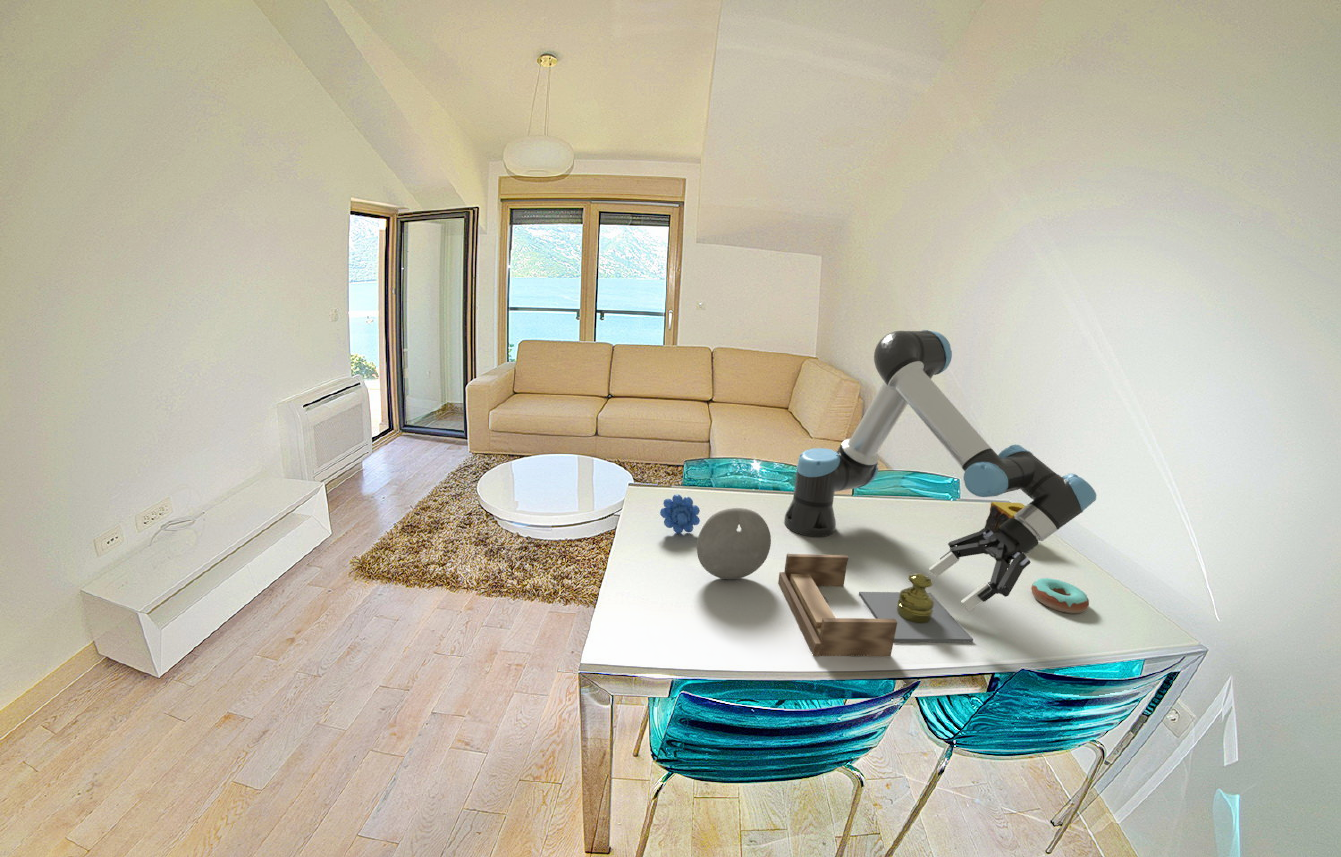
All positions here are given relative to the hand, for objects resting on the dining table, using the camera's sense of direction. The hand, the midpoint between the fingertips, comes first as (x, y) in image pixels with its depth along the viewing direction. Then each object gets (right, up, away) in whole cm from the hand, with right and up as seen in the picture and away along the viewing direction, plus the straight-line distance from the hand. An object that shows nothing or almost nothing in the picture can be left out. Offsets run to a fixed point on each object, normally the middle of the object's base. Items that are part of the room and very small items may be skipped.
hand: (947, 588), depth 130 cm
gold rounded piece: (-7, -6, +1) cm, 10 cm away
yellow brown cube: (+41, +2, +46) cm, 61 cm away
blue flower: (-60, +6, +34) cm, 69 cm away
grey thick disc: (-48, -1, +13) cm, 49 cm away
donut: (+33, -7, +12) cm, 36 cm away
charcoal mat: (-7, -7, +2) cm, 10 cm away
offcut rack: (-27, -6, 0) cm, 28 cm away
